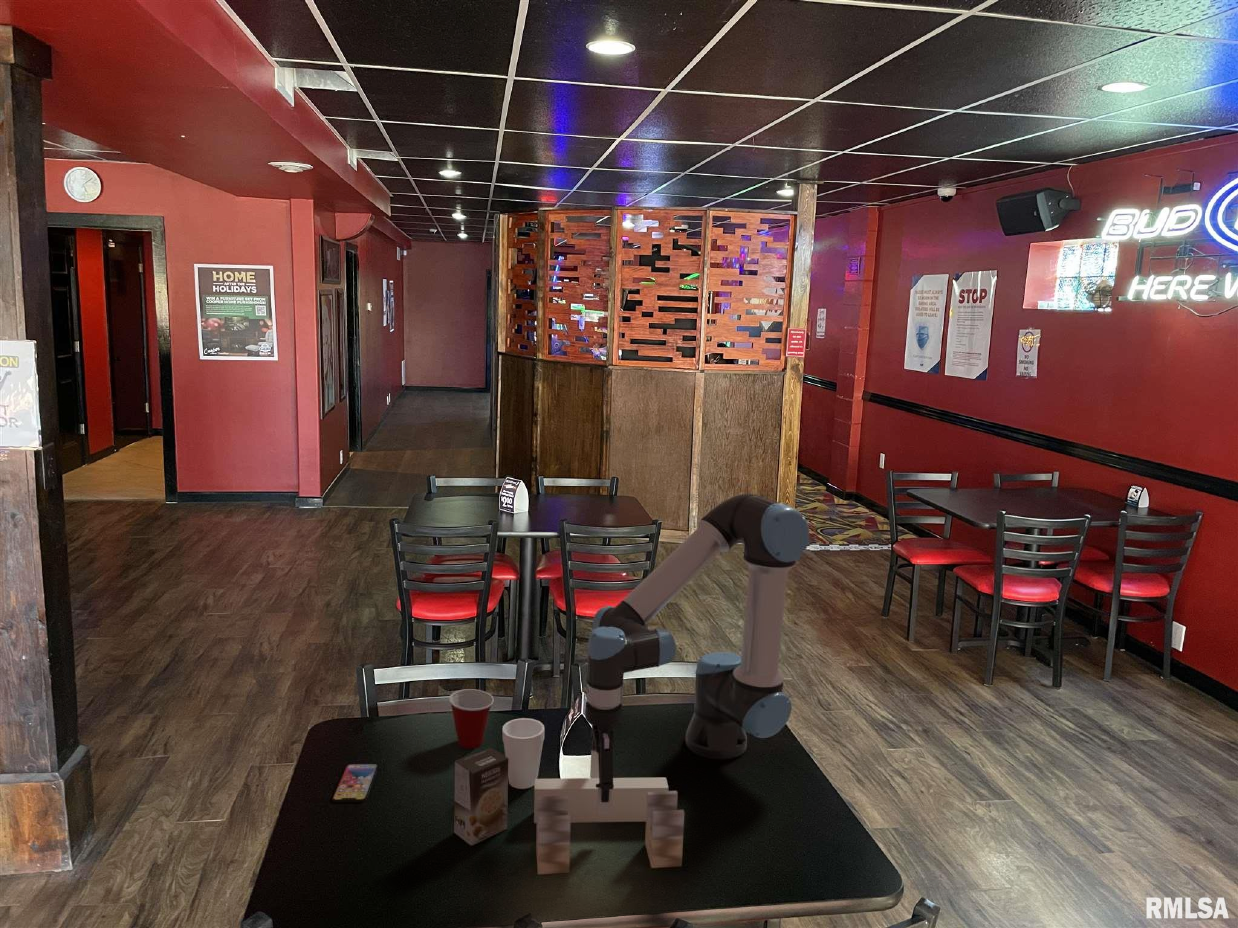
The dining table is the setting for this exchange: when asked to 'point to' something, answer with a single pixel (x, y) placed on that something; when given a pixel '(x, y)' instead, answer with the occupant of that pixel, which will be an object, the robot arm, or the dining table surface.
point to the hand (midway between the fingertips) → (599, 795)
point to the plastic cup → (470, 715)
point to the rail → (584, 794)
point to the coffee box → (481, 795)
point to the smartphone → (355, 783)
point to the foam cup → (523, 750)
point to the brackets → (659, 837)
